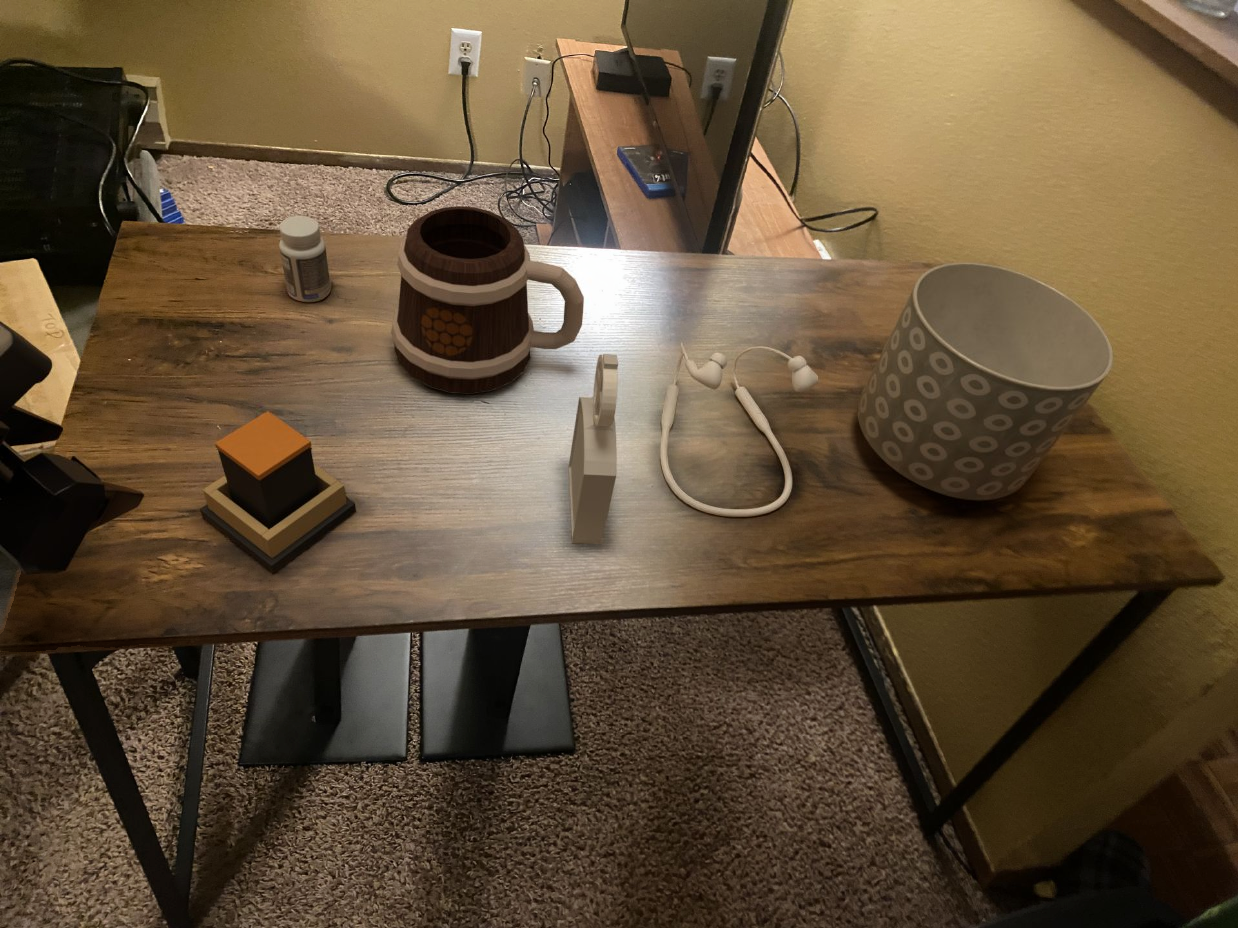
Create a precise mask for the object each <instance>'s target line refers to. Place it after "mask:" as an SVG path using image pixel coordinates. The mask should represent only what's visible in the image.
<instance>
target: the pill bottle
mask: <svg viewBox="0 0 1238 928" xmlns="http://www.w3.org/2000/svg"><path fill="white" fill-rule="evenodd" d="M279 234H280V241H279V243H278V249H279V253H280V260H281V263H282V270H283V277H284V281H285V288H286V293H287V294H288V296H289V297H291V298H292V299H293V300H296V301H299V302H302V303H315V302H320V301H322V300H323V299H325V298H327V297H328V296H329V295H330V293H331V290H332V285H331V278H330V271H329V264H328V257H327V247H326V243H325V240H324V239H323V238H322V236H321V235H322V234H321V230H320V224H319V223H318V221H317V220H316V219H314V218H312V217H310V216H305V215H295V216H293V215H292V216H289V217H287V218H285V219H283V220H282V221H281V222H280V224H279Z"/></svg>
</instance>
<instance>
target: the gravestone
mask: <svg viewBox="0 0 1238 928" xmlns="http://www.w3.org/2000/svg"><path fill="white" fill-rule="evenodd" d="M618 360H619V359H618V354H613V353H612V354H611V353H603V354H601V353H600V354H599V355H598V357H597V361H596V367H595V373H594V383H593V397H588V396H578V403H577V408H576V409H577V410H576V416H575V423H574V428H573V435H572V442H571V448H570V453H569V461H568V482H569V483H568V487H569V506H570V507H569V508H570V509H569V513H570V531H571V533H570V534H571V535H570V536H571V544H583V545H584V544H585V545H587V544H588V545H602V544H603V540H604V535H605V530H606V525H607V521H608V516H609V511H610V508H611V503H612V498H613V493H614V488H615V484H616V479H617V472H618V471H617V469H618V467H617V466H618V447H617V446H618V445H617V444H618V443H617V428H616V427H617V426H616V418H615V417H616V416H615V415H616V409H617V401H618V387H619V370H618V369H619V361H618Z"/></svg>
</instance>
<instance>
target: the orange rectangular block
mask: <svg viewBox="0 0 1238 928" xmlns="http://www.w3.org/2000/svg"><path fill="white" fill-rule="evenodd" d="M214 446H215V449H217V452H218V455H219V459H220V462H221V465H222V469H223V473H224V476H225V477H226V480H227V483H228V487H229V490H230V494H231V497H232V500H233V502H234V503H235V504H236V505H238V506H239V507H240V508H242V509H243V510H244V511H245V512H247V513H248V514H249V515H251V516H252V517H253V518H254V519H256V520H257V521H258V522H260V523H261V524H262V525H264V526H265V527H266V528H267V529H269V530H270V529H271V528H272V527H274V526H275V525H277V524H278V523H279V522H281V521H282V520H284V519H285V518H286V517H288V516H289V515H291V514H292V513H293V512H295V511H296V510H298V509H299V508H300V507H302V506H303V505H305V504H306V503H307V502H309V501H310V500H312V499H313V498H314V497H316V496H317V495H319V492H318V486H317V480H316V474H315V469H314V464H315V463H314V458H313V457H314V456H313V452H312V441H311V440H309V438H307V437H305V436H304V435H303V434H301V433H300V432H298V431H297V430H296V429H294V428H292V426H290V425H288V424H287V423H286V422H284V421H283V420H281V419H280V418H278V417H277V416H276V415H274V414H273V413H272V412H270V411H268V410H267V411H265V412H264V413H262V414H260V415H259V416H257V417H256V418H254V419H252V420H251V421H249V422H247V423H246V424H243V425H242V426H240V427H239V428H237V429H236V430H234V431H233V432H231V433H229V434H228V435H226V436H224V437H223V438H221V439H219V440H217V441H216V442H214Z"/></svg>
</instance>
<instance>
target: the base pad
mask: <svg viewBox="0 0 1238 928" xmlns="http://www.w3.org/2000/svg"><path fill="white" fill-rule="evenodd" d="M314 469H315V474H316V480H317V486H318V492H319V495H317V496H316V497H314V498H313V499H312V500H310V501H309V502H307V503H306V504H305V505H303V506H302V507H300V508H299V509H298V510H296V511H295V512H293V513H292V514H291V515H289V516H288V517H286V518H285V519H284V520H282V521H281V522H279V523H278V524H277V525H275V526H274V527H272V528H271V529H270V530H269V529H267V528H266V527H265V526H264V525H262V524H261V523H260V522H258V521H257V520H256V519H254V518H253V517H252V516H251V515H249V514H248V513H247V512H245V511H244V510H243V509H242V508H240V507H239V506H238V505H236V504H235V503H234V502H233V500H232V497H231V494H230V490H229V487H228V483H227V480H226V477H225V475H223V476H222V477H220V478H219V479H217V480H215V481H213V482H212V483H210V484H209V485H208V486H206V487H204V488H203V489H202V492H203V495H204V498H205V501H206V504H205V505H203V506H202V507H200V508H199V512H200V515H201V517H202V519H204V520H205V521H206V522H207V523H209V524H210V525H211V526H213V527H214V528H215V529H216V530H218V532H220V533H221V534H222V535H223V536H225V537H226V538H227V539H229V540H230V541H231V542H233V543H234V544H235V545H236V546H237V547H238V548H240V549H241V550H243V552H245V553H246V554H248V555H249V556H250V557H251V558H253V559H254V560H255V561H256V562H258V563H259V564H260V565H261V566H263V567H264V569H267V570H268V571H269V572H271V573H272V574H273V575H275V574H276V573H277V572H279V571H280V570H281V569H283V568H284V567H285V566H287V565H288V564H290V563H291V562H292V561H293V560H295V559H296V558H297V557H298V556H300V555H301V554H302V553H303V552H305V551H306V550H308V549H309V548H310V547H312V546H313V545H314V544H316V543H317V542H318V541H320V540H321V539H322V538H324V537H325V536H327V535H328V534H329V533H330V532H331V531H333V530H335V528H337V527H338V526H339V525H341V524H342V523H343V522H345V521H346V520H347V519H349V518H350V517H351V516H353V515H354V514H355V513H357V506H356V503H355V502H354V501H353V500H352V499H350V498H348V497H347V496H346V489H345V484H343V483H342V482H340V481H339V480H338V479H336V478H335V477H334V476H332V475H331V474H330V473H328V472H327V471H325V470H324V469H323V468H321V467H320V466H318V465H317V464H316V463H314Z"/></svg>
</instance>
